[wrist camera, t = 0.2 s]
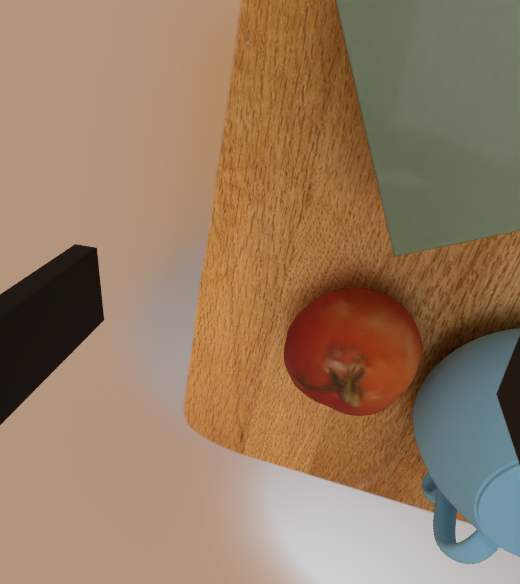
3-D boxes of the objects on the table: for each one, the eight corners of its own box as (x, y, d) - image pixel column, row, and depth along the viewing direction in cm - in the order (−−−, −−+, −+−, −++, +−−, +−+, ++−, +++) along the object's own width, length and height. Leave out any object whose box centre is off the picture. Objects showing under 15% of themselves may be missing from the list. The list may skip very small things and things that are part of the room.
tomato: (440, 296, 34) (454, 359, 27) (386, 387, 39) (387, 462, 32) (318, 249, 35) (303, 301, 28) (279, 346, 39) (258, 410, 32)
